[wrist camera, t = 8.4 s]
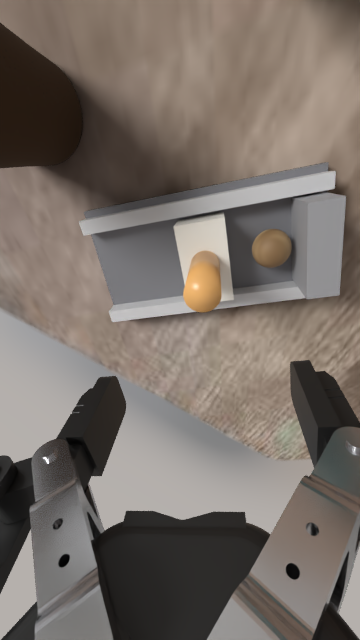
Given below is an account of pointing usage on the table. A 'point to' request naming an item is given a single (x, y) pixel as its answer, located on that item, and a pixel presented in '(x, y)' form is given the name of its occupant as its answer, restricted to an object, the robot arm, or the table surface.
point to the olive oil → (34, 107)
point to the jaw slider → (204, 261)
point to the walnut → (271, 248)
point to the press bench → (241, 228)
